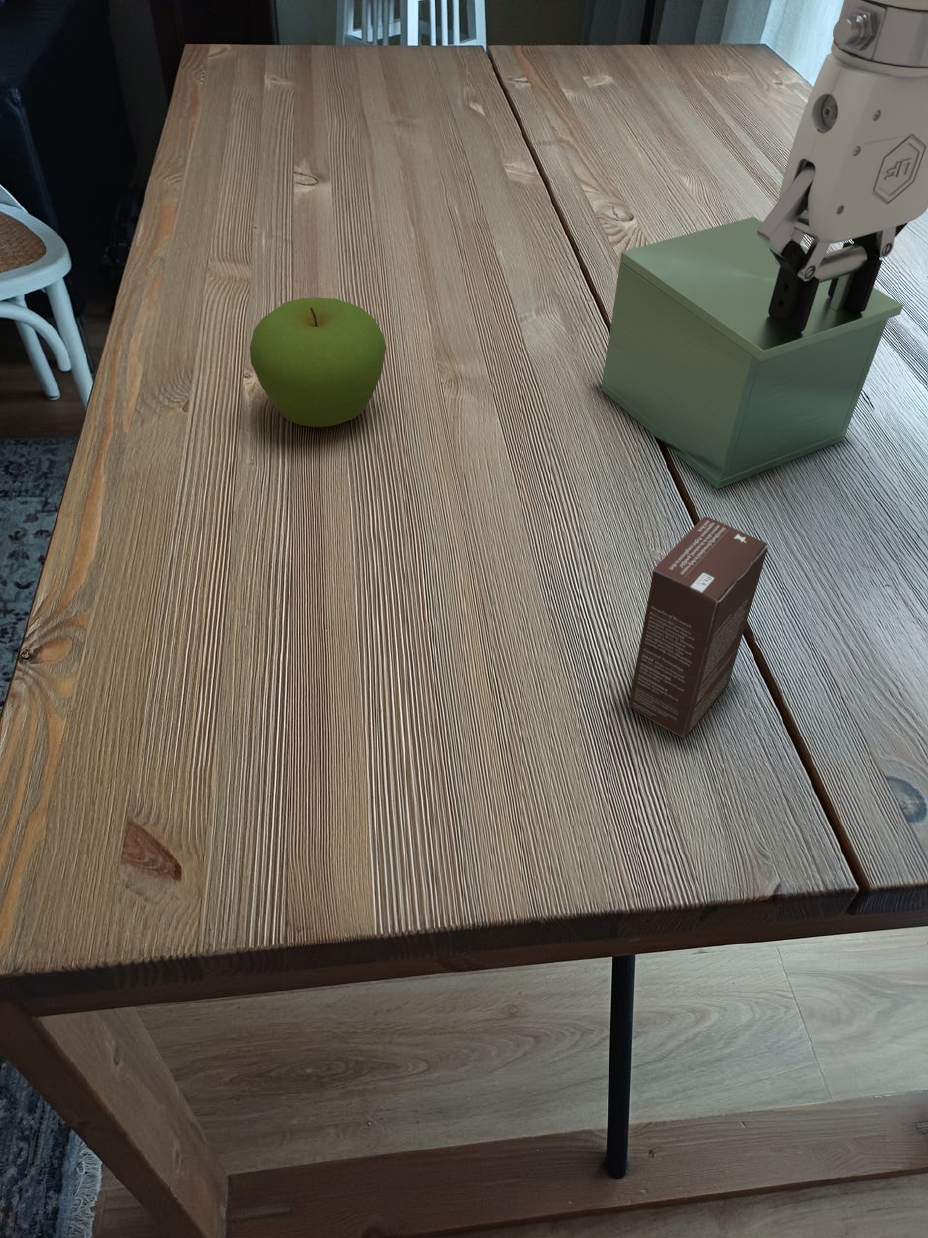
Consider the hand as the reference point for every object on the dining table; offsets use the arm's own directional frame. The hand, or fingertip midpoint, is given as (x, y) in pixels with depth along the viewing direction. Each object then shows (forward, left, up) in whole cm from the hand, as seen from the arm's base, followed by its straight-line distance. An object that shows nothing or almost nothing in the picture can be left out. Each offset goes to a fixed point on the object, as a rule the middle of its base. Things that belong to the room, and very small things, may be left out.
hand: (816, 311), depth 70 cm
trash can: (+5, -5, -13) cm, 14 cm away
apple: (+37, +5, -13) cm, 39 cm away
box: (+5, +27, -13) cm, 31 cm away
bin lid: (+4, -4, -1) cm, 6 cm away
